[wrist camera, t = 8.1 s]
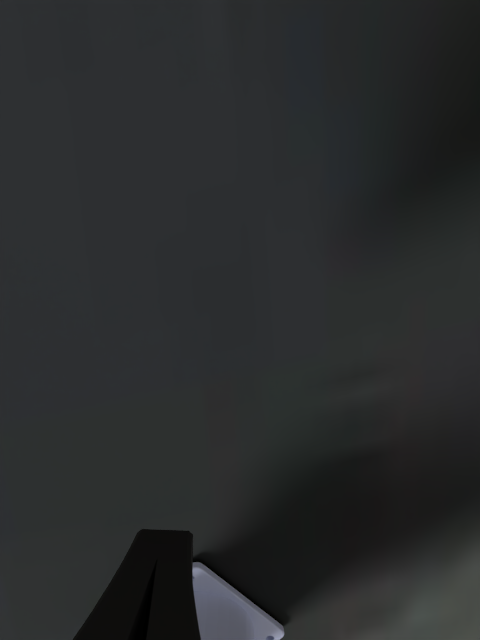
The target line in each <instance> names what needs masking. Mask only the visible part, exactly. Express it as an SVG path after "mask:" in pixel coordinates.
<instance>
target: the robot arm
mask: <svg viewBox="0 0 480 640" xmlns="http://www.w3.org/2000/svg"><path fill="white" fill-rule="evenodd" d="M283 636H284V628H283V626H282V625H281V624H280V623H278V622H277V621H276V620H275V619H273V618H272V617H271V616H269V615H268V614H267V613H265V612H264V611H263V610H262V609H260V608H259V607H258V606H256V605H255V604H254V603H253V602H251V601H250V600H249V599H247V598H246V597H245V596H244V595H242V594H241V593H240V592H238V591H237V590H236V589H234V588H233V587H232V586H231V585H229V584H228V583H227V582H225V581H224V580H223V579H222V578H220V577H219V576H218V575H216V574H215V573H214V572H213V571H211V570H210V569H209V568H207V567H206V566H205V565H203V564H202V563H200V562H193V534H192V533H190V532H189V531H176V530H148V529H142V530H140V531H139V532H138V533H137V535H136V537H135V539H134V541H133V543H132V545H131V547H130V549H129V551H128V552H127V554H126V556H125V558H124V560H123V562H122V563H121V565H120V567H119V569H118V570H117V572H116V574H115V575H114V577H113V579H112V580H111V582H110V584H109V585H108V587H107V588H106V590H105V592H104V593H103V595H102V596H101V598H100V600H99V601H98V603H97V604H96V606H95V608H94V609H93V611H92V612H91V614H90V615H89V617H88V618H87V620H86V621H85V623H84V624H83V626H82V627H81V628H80V630H79V631H78V633H77V634H76V636H75V637H74V638H73V640H279V639H281V638H282V637H283Z"/></svg>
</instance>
